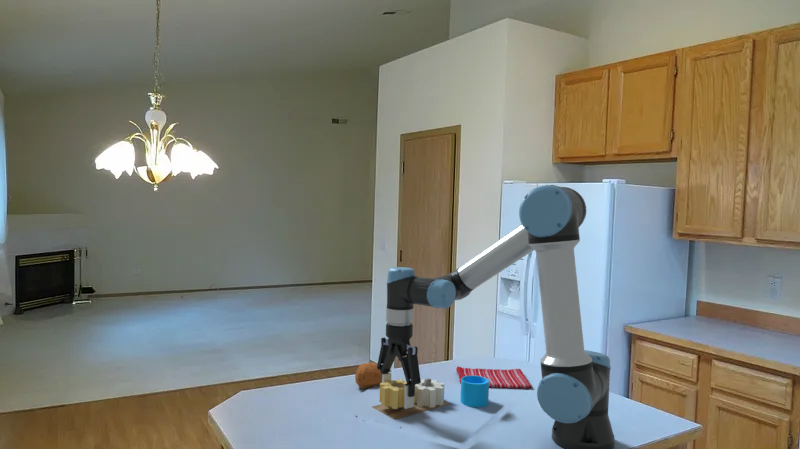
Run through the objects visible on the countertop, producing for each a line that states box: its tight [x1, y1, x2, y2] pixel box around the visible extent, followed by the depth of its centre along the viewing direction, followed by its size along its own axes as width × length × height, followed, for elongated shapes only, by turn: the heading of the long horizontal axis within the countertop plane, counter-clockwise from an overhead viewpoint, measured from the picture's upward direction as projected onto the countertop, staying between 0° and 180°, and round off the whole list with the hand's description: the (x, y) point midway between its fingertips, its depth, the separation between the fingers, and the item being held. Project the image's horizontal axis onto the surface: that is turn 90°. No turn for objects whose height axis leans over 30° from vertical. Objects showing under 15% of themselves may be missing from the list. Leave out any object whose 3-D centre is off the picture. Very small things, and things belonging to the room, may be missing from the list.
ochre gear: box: [379, 378, 415, 409], centre depth 155 cm, size 10×10×5 cm
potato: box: [354, 362, 390, 389], centre depth 178 cm, size 9×11×8 cm
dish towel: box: [455, 366, 533, 390], centre depth 188 cm, size 17×24×3 cm
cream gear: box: [415, 378, 445, 408], centre depth 162 cm, size 10×10×5 cm
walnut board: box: [372, 378, 453, 420], centre depth 158 cm, size 11×21×8 cm, turn 127°
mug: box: [460, 376, 490, 408], centre depth 164 cm, size 12×8×8 cm
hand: (397, 401), depth 155 cm, fingers closed on ochre gear, 10 cm apart
